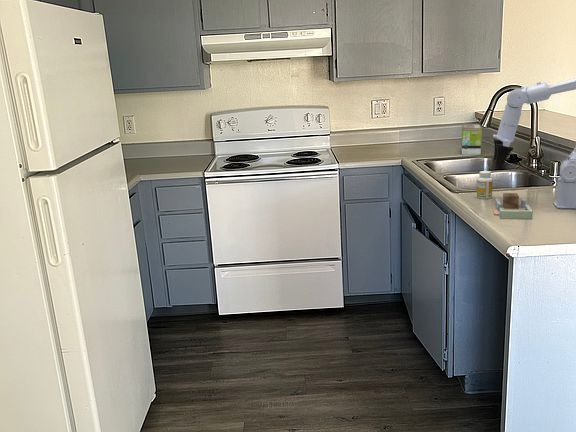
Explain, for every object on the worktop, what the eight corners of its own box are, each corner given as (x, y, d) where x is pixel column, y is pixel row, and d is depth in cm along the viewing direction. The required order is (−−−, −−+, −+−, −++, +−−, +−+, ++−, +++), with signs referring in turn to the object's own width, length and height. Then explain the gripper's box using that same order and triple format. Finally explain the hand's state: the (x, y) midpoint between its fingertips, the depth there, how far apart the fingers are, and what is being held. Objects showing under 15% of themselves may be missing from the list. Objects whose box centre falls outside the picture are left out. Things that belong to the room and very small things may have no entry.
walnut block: (516, 205, 196) (517, 193, 195) (518, 209, 192) (518, 196, 190) (502, 205, 197) (503, 193, 196) (504, 208, 193) (504, 196, 192)
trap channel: (528, 205, 195) (528, 198, 195) (537, 219, 179) (537, 211, 178) (490, 204, 199) (490, 197, 198) (495, 218, 182) (495, 211, 181)
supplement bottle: (488, 195, 212) (489, 170, 209) (494, 198, 207) (495, 172, 204) (474, 196, 212) (475, 170, 209) (479, 199, 207) (480, 173, 204)
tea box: (481, 155, 297) (482, 127, 293) (461, 155, 299) (462, 127, 296) (480, 150, 310) (481, 123, 307) (461, 150, 313) (461, 124, 309)
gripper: (494, 119, 200) (484, 155, 205) (499, 125, 187) (488, 164, 191) (515, 123, 199) (504, 159, 204) (520, 129, 185) (509, 169, 190)
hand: (497, 162), depth 197 cm, fingers open, 7 cm apart
